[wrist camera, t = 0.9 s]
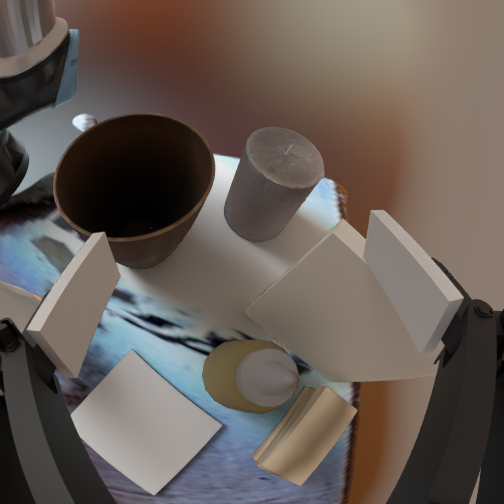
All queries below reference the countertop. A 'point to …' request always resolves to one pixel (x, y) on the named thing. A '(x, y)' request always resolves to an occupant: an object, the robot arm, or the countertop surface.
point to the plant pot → (135, 184)
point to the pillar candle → (271, 182)
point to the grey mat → (142, 424)
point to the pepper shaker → (17, 304)
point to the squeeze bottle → (250, 375)
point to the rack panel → (340, 315)
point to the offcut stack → (305, 434)
